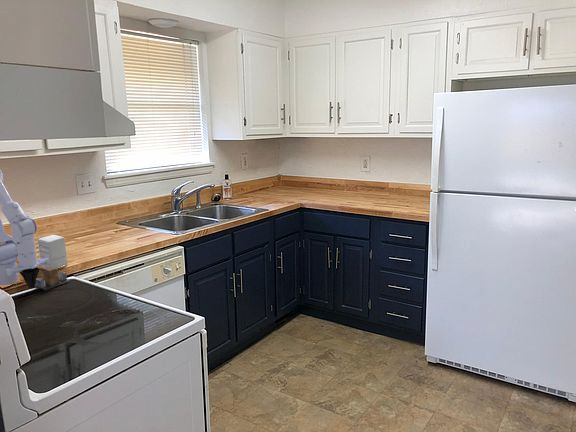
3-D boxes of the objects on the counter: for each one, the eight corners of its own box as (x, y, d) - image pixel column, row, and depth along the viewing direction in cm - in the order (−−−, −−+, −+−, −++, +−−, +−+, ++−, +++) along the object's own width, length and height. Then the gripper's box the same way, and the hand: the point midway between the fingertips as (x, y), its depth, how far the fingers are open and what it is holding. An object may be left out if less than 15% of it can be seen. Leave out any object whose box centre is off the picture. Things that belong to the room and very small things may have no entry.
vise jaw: (36, 285, 171) (35, 279, 170) (40, 284, 172) (39, 278, 172) (41, 288, 169) (41, 281, 169) (45, 286, 170) (44, 280, 170)
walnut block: (51, 280, 177) (50, 265, 175) (59, 283, 174) (57, 268, 173) (43, 283, 174) (42, 268, 172) (51, 285, 172) (49, 270, 170)
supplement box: (56, 262, 196) (53, 234, 193) (68, 265, 193) (65, 237, 190) (40, 267, 190) (36, 238, 187) (51, 271, 187) (48, 241, 184)
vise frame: (35, 286, 172) (34, 278, 171) (60, 277, 180) (59, 270, 180) (44, 290, 169) (43, 282, 168) (70, 281, 177) (69, 273, 177)
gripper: (12, 260, 156) (17, 297, 160) (52, 249, 168) (56, 283, 172) (1, 256, 160) (6, 292, 163) (41, 245, 172) (45, 279, 175)
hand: (31, 287), depth 168 cm, fingers closed
